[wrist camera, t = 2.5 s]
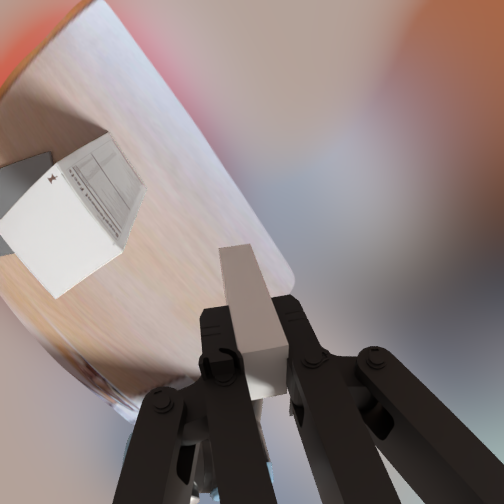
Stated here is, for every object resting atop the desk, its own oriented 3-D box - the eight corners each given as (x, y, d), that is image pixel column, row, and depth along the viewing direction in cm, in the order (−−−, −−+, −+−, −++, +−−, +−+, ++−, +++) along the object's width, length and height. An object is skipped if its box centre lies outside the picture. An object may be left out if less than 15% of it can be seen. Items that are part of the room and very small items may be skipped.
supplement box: (57, 172, 33) (-11, 224, 19) (109, 129, 32) (52, 157, 18) (97, 227, 38) (55, 303, 23) (149, 190, 37) (125, 254, 23)
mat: (73, 239, 38) (72, 241, 37) (-8, 256, 36) (-10, 258, 35) (50, 151, 31) (48, 152, 31) (-32, 181, 29) (-34, 182, 29)
